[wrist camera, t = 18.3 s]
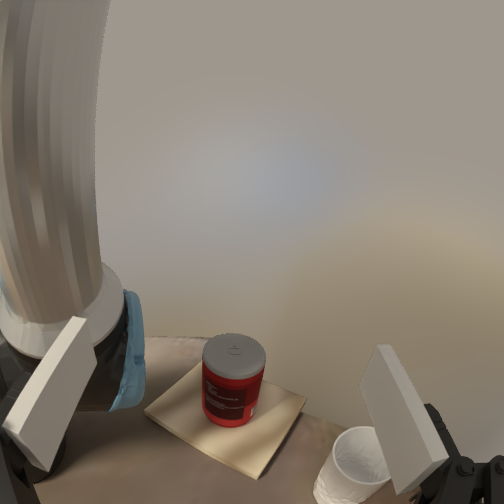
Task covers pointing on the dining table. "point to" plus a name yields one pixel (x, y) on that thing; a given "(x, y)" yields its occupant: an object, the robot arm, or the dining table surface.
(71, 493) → the dining table surface
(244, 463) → the cutting board
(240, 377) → the canned food
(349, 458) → the white cup
